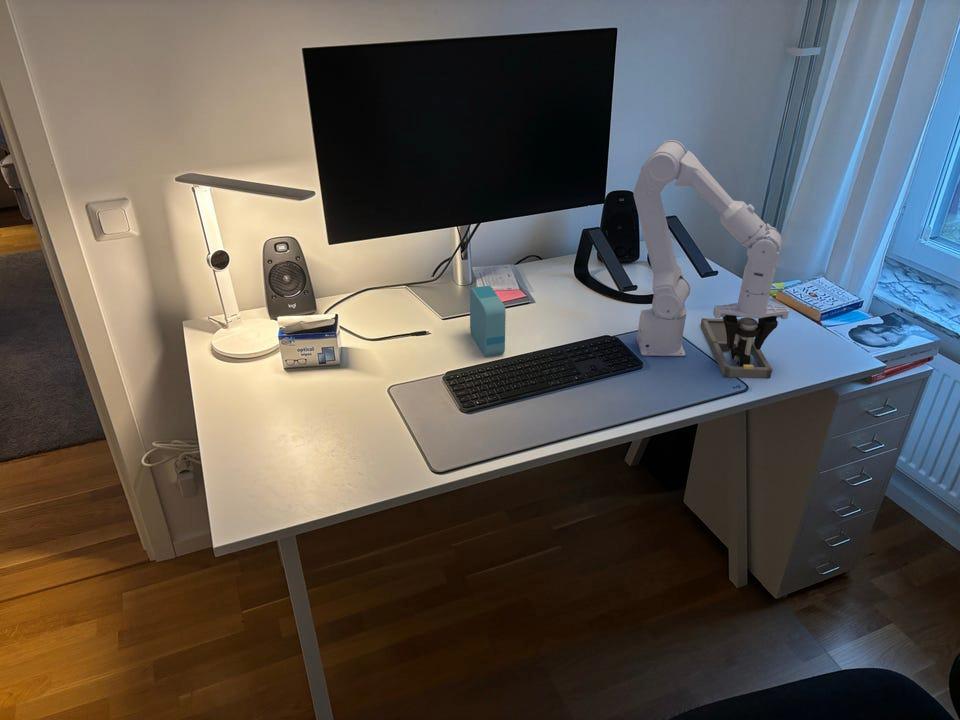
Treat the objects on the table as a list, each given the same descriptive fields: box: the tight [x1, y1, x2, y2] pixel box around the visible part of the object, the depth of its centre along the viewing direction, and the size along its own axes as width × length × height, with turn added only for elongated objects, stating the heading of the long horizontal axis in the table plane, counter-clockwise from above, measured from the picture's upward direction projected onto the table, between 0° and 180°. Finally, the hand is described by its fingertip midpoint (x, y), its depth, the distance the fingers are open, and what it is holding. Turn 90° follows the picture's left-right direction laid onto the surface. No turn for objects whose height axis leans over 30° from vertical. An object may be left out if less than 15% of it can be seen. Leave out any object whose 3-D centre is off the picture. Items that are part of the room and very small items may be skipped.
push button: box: [728, 317, 761, 367], centre depth 154 cm, size 7×5×10 cm
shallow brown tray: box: [700, 317, 773, 379], centre depth 160 cm, size 10×22×3 cm, turn 178°
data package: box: [469, 285, 507, 357], centre depth 160 cm, size 12×4×12 cm, turn 17°
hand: (743, 347), depth 154 cm, fingers closed on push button, 5 cm apart
